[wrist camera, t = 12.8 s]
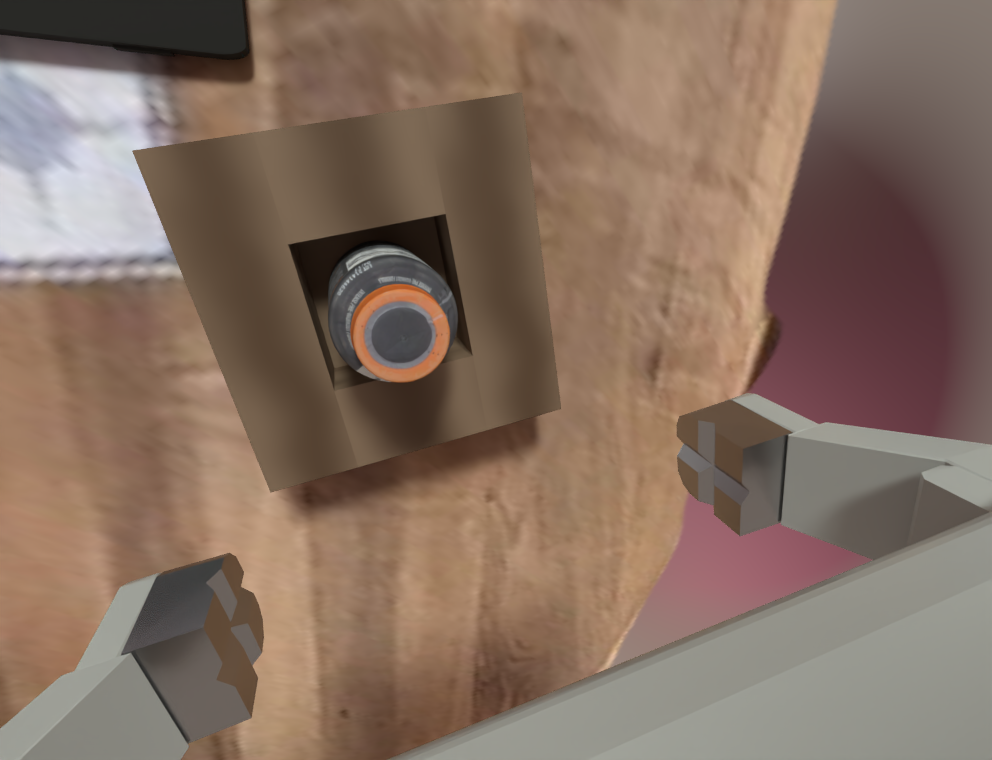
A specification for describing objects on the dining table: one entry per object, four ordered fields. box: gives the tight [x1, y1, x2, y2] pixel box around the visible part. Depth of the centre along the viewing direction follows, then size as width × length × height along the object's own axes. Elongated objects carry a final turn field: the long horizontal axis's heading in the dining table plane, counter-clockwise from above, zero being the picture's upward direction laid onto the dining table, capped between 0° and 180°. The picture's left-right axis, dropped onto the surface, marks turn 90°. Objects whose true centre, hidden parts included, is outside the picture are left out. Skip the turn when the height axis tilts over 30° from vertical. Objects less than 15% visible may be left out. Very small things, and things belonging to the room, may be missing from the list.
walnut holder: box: [133, 93, 561, 492], centre depth 30 cm, size 18×18×5 cm
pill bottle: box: [328, 240, 458, 383], centre depth 26 cm, size 6×6×11 cm
